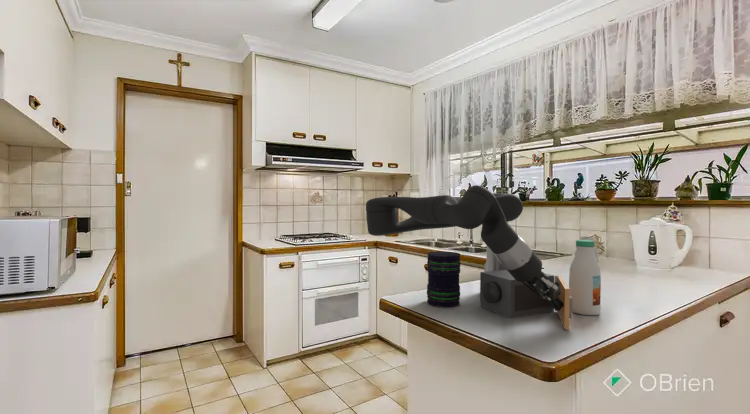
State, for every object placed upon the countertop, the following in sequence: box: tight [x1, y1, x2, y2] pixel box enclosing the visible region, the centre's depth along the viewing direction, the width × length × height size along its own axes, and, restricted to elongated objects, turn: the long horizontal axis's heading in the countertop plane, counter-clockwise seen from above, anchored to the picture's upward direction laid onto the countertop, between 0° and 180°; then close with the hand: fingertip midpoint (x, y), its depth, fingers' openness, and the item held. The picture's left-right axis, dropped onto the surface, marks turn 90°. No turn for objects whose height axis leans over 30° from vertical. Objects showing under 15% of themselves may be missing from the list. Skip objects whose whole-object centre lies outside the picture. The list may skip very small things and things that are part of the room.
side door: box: [554, 275, 573, 330], centre depth 98 cm, size 17×2×10 cm, turn 160°
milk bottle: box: [568, 239, 602, 316], centre depth 105 cm, size 8×8×20 cm
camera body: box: [479, 270, 556, 319], centre depth 108 cm, size 18×12×11 cm
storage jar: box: [426, 250, 461, 309], centre depth 113 cm, size 10×10×15 cm
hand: (559, 307), depth 93 cm, fingers closed
